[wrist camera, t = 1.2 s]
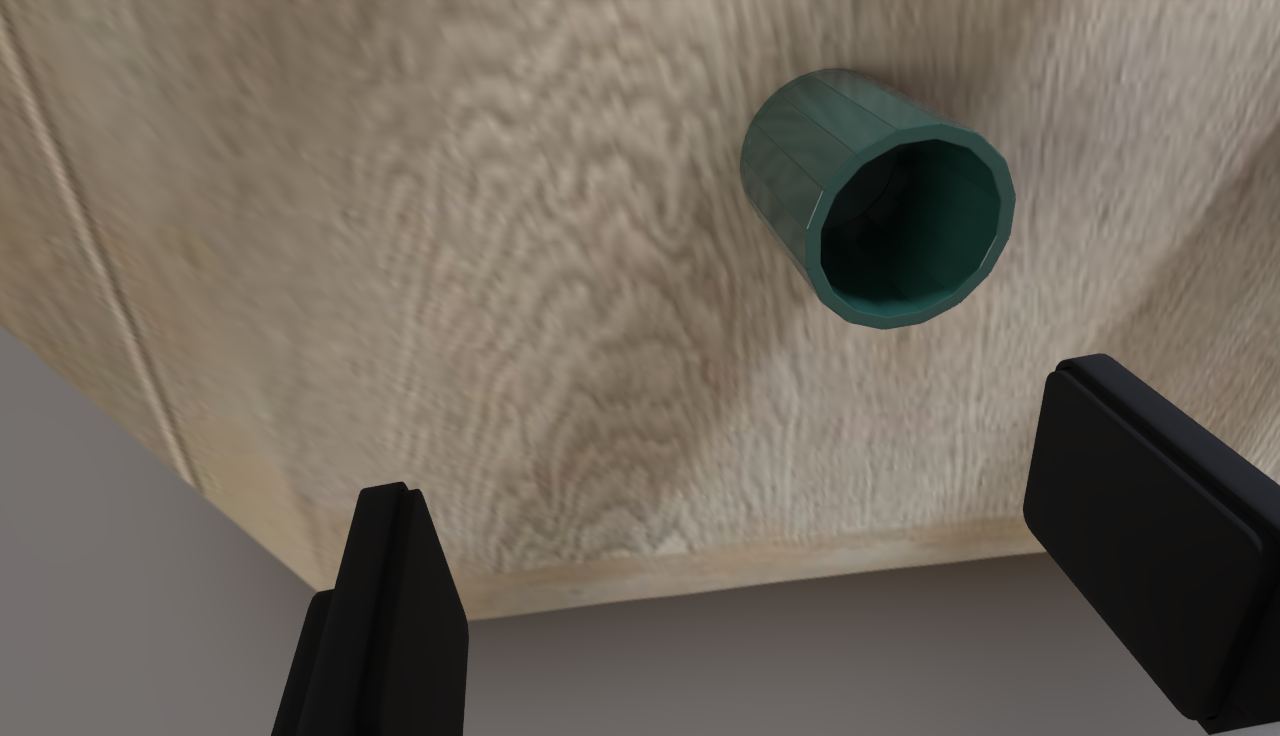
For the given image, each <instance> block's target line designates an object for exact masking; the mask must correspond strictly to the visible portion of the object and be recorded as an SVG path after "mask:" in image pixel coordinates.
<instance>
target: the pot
mask: <svg viewBox="0 0 1280 736" xmlns="http://www.w3.org/2000/svg"><path fill="white" fill-rule="evenodd" d="M740 171H741V180H742V184H743V188H744V191H745V194H746V196H747V198H748V200H749V202H750V204H751V205H752V207H753V209H754V210H755V212H756V214H757V216H758V218H759V219H760V220H761V222H762V223H763V224H764V226H765V227H766V228H767V230H768V231H769V232H770V234H771V235H772V236H773V238H774V239H775V241H776V242H777V243H778V245H779V246H780V247H781V249H782V250H783V251H784V253H785V254H786V255H787V257H788V258H789V259H790V261H791V262H792V263H793V265H794V266H795V268H796V269H797V270H798V272H799V273H800V274H801V276H802V277H803V278H804V280H805V281H806V282H807V284H808V285H809V286H810V288H811V289H812V290H813V292H814V293H815V295H816V296H817V297H818V299H819V300H820V301H821V302H822V303H823V304H824V305H825V306H827V307H828V308H829V309H831V310H832V311H833V312H835V313H836V314H837V315H839V316H840V317H841V318H843V319H844V320H845V321H847V322H849V323H853V324H858V325H863V326H868V327H873V328H878V329H885V330H886V329H892V328H898V327H904V326H909V325H915V324H921V323H924V322H926V321H928V320H930V319H931V318H933V317H935V316H937V315H939V314H941V313H943V312H945V311H947V310H949V309H951V308H952V307H954V306H956V305H958V303H961V302H962V301H963V300H964V299H965V298H966V297H967V296H968V295H969V294H970V293H971V292H972V291H973V290H974V289H975V288H976V287H977V286H978V285H979V284H980V283H981V282H982V281H983V280H984V279H985V278H986V277H987V276H988V275H989V273H991V271H992V269H993V267H994V265H995V264H996V262H997V260H998V258H999V256H1000V254H1001V252H1002V251H1003V249H1004V247H1005V245H1006V243H1007V241H1008V240H1009V236H1010V234H1011V227H1012V221H1013V214H1014V208H1015V201H1016V197H1015V196H1016V194H1015V191H1014V187H1013V184H1012V180H1011V177H1010V173H1009V170H1008V166H1007V163H1006V161H1005V158H1004V157H1003V156H1002V155H1001V154H1000V153H999V152H998V151H997V150H996V149H995V148H994V147H993V146H992V145H991V144H990V143H989V142H988V141H987V140H986V139H985V138H984V137H983V136H982V135H981V134H979V133H978V132H976V131H974V130H972V129H970V128H968V127H966V126H964V125H962V124H960V123H959V122H957V121H955V120H953V119H951V118H949V117H947V116H945V115H943V114H941V113H939V112H938V111H936V110H934V109H932V108H930V107H928V106H926V105H924V104H922V103H920V102H918V101H916V100H915V99H913V98H911V97H909V96H907V95H905V94H903V93H901V92H899V91H897V90H895V89H893V88H892V87H890V86H888V85H886V84H884V83H882V82H880V81H878V80H876V79H873V78H869V77H867V76H865V75H863V74H860V73H857V72H854V71H850V70H844V69H826V70H820V71H815V72H811V73H808V74H806V75H803V76H800V77H798V78H796V79H794V80H792V81H790V82H789V83H787V84H786V85H784V86H783V87H782V88H780V89H779V90H778V91H777V92H775V93H774V94H773V95H772V96H771V97H770V98H769V99H768V100H767V101H766V102H765V103H764V105H763V106H762V107H761V108H760V110H759V111H758V113H757V114H756V115H755V117H754V119H753V121H752V123H751V124H750V126H749V129H748V131H747V134H746V136H745V140H744V143H743V147H742V153H741V163H740Z"/></svg>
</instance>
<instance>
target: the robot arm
mask: <svg viewBox="0 0 1280 736" xmlns="http://www.w3.org/2000/svg"><path fill="white" fill-rule="evenodd" d="M1023 514H1024V518H1025V522H1026V524H1027V526H1028V528H1029V529H1030V531H1031V532H1032V533H1033V535H1034V536H1035V537H1036V538H1037V540H1038V541H1039V542H1040V543H1041V544H1042V546H1043V547H1044V548H1045V549H1046V551H1047V552H1048V553H1049V554H1050V555H1051V557H1052V558H1053V559H1054V560H1055V561H1056V563H1057V564H1058V565H1059V566H1060V568H1061V569H1062V570H1063V571H1064V572H1065V574H1066V575H1067V576H1068V577H1069V578H1070V580H1071V581H1072V582H1073V583H1074V585H1075V586H1076V587H1077V588H1078V589H1079V591H1080V592H1081V593H1082V594H1083V596H1084V597H1085V598H1086V599H1087V600H1088V602H1089V603H1090V604H1091V605H1092V606H1093V608H1094V609H1095V610H1096V611H1097V613H1098V614H1099V615H1100V616H1101V617H1102V619H1103V620H1104V621H1105V622H1106V623H1107V625H1108V626H1109V627H1110V628H1111V630H1112V631H1113V632H1114V633H1115V634H1116V636H1117V637H1118V638H1119V639H1120V640H1121V642H1122V643H1123V644H1124V645H1125V647H1126V648H1127V649H1128V650H1129V651H1130V653H1131V654H1132V655H1133V656H1134V657H1135V659H1136V660H1137V661H1138V662H1139V664H1140V665H1141V666H1142V667H1143V669H1144V670H1145V671H1146V672H1147V673H1148V675H1149V676H1150V677H1151V678H1152V679H1153V681H1154V682H1155V683H1156V684H1157V686H1158V687H1159V688H1160V689H1161V690H1162V692H1163V693H1164V694H1165V695H1166V696H1167V698H1168V699H1169V700H1170V701H1171V703H1172V704H1173V705H1174V706H1175V707H1176V709H1177V710H1178V711H1179V712H1180V713H1181V714H1182V715H1184V716H1185V717H1186V718H1188V719H1191V720H1197V721H1198V723H1199V724H1200V725H1201V726H1202V727H1203V728H1204V730H1205V731H1206V732H1207V733H1208V735H1207V736H1280V485H1278V484H1277V483H1276V482H1274V481H1273V480H1272V479H1271V478H1269V477H1268V476H1267V475H1265V474H1264V473H1263V472H1261V471H1260V470H1259V469H1257V468H1256V467H1255V466H1253V465H1252V464H1251V463H1250V462H1248V461H1247V460H1246V459H1244V458H1243V457H1242V456H1240V455H1239V454H1238V453H1236V452H1235V451H1234V450H1232V449H1231V448H1230V447H1228V446H1227V445H1226V444H1225V443H1223V442H1222V441H1221V440H1219V439H1218V438H1217V437H1215V436H1214V435H1213V434H1211V433H1210V432H1209V431H1207V430H1206V429H1205V428H1204V427H1202V426H1201V425H1200V424H1198V423H1197V422H1196V421H1194V420H1193V419H1192V418H1190V417H1189V416H1188V415H1186V414H1185V413H1184V412H1182V411H1181V410H1180V409H1179V408H1177V407H1176V406H1175V405H1173V404H1172V403H1171V402H1169V401H1168V400H1167V399H1165V398H1164V397H1163V396H1161V395H1160V394H1159V393H1157V392H1156V391H1155V390H1154V389H1152V388H1151V387H1150V386H1148V385H1147V384H1146V383H1144V382H1143V381H1142V380H1140V379H1139V378H1138V377H1136V376H1135V375H1134V374H1133V373H1131V372H1130V371H1129V370H1127V369H1126V368H1125V367H1123V366H1122V365H1121V364H1119V363H1118V362H1117V361H1115V360H1114V359H1113V358H1111V357H1110V356H1108V355H1106V354H1100V353H1099V354H1093V355H1088V356H1082V357H1077V358H1071V359H1066V360H1063V361H1061V362H1060V363H1059V364H1058V365H1057V367H1056V370H1055V371H1054V372H1052V373H1050V374H1049V375H1048V376H1047V379H1046V383H1045V389H1044V394H1043V400H1042V405H1041V411H1040V416H1039V422H1038V427H1037V433H1036V438H1035V443H1034V449H1033V454H1032V460H1031V465H1030V471H1029V476H1028V482H1027V487H1026V493H1025V498H1024V504H1023ZM468 643H469V634H468V624H467V619H466V615H465V612H464V609H463V606H462V604H461V601H460V598H459V595H458V592H457V589H456V587H455V584H454V581H453V578H452V575H451V573H450V570H449V567H448V564H447V561H446V559H445V556H444V553H443V550H442V547H441V544H440V542H439V539H438V536H437V533H436V530H435V528H434V525H433V522H432V519H431V516H430V514H429V511H428V508H427V505H426V502H425V499H424V497H423V494H422V492H421V491H420V489H414V490H408V488H407V486H406V484H405V483H404V482H396V483H390V484H385V485H380V486H374V487H369V488H364V489H362V490H361V492H360V494H359V497H358V501H357V505H356V508H355V512H354V516H353V520H352V524H351V527H350V531H349V535H348V539H347V542H346V546H345V550H344V554H343V558H342V561H341V565H340V569H339V573H338V577H337V580H336V584H335V588H334V589H331V590H326V591H320V592H317V593H316V594H315V596H314V597H313V598H312V600H311V603H310V605H309V608H308V611H307V614H306V618H305V621H304V625H303V628H302V632H301V635H300V638H299V642H298V645H297V649H296V652H295V656H294V659H293V662H292V666H291V669H290V673H289V676H288V679H287V683H286V686H285V690H284V693H283V696H282V700H281V703H280V707H279V710H278V713H277V717H276V720H275V724H274V728H273V731H272V734H271V736H463V722H464V707H465V690H466V674H467V659H468V658H467V657H468Z"/></svg>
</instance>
